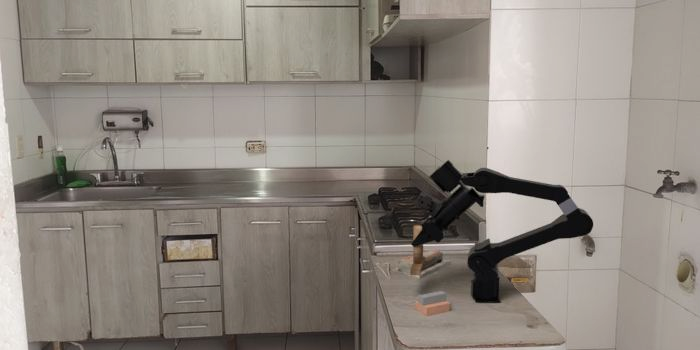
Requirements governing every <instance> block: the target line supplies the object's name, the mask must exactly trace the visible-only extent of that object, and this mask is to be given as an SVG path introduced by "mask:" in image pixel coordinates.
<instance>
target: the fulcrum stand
mask: <svg viewBox="0 0 700 350" xmlns="http://www.w3.org/2000/svg"><path fill="white" fill-rule="evenodd" d="M414 310H415V311H418V312H419V313H421V314H422V315H425V316H426V317H427V316H432V315H437V314H442V313H445V312H450V311H451V303H450V302H449V301H447V292H444V291H442V290H440V291H435V292H429V293H424V294H419V295H418V300H415V301H414Z"/></svg>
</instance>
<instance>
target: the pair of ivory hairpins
mask: <svg viewBox="0 0 700 350" xmlns="http://www.w3.org/2000/svg"><path fill="white" fill-rule="evenodd" d="M384 264H386V265H385V266H387V273H388V276H387V274H386V272H385V271H384V269H382V267H381V265H380V263H379V262H377V263H374V265H375V267H377V268H378V269H379V270H380V271H381V272H382V273H383V275H384V276H385V277H386V278H387V280H391V276H390V270H389V269H390V264H391V263H390V262H385V263H384Z"/></svg>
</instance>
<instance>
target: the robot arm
mask: <svg viewBox="0 0 700 350" xmlns="http://www.w3.org/2000/svg"><path fill="white" fill-rule="evenodd" d="M428 178H429V179H430V180H431V181H432V182H433V183H434V184H435V185H436V186H437V187H438V188H439V189H440V190H441V191H442V193H449V194H450V193H451V192H452V193H451V194H450V195H449V196H448V197H447V198H443V199H442V200H439V199H437V198H436V197H434V196H432V195H430V194H428V193H426V192H424V191H421V192H420V194H419V196H418V197H417V199H416V200H415V203H414V205H415V206H416V207H418V208H422V209H424V210H426V211H427V214H428V215H429V216H427V215H425V216H424V220H422V222H421V224H420V225H421V226H422V230H421V231H420V233H419V234H418V235H417V237H416V238H415V239H414V238H413V239H414V241H413V240H412V242H411V243H410V245H411V246H412V247H415V246H418V245H421V244H423V245H424V244H427V243H431V242H434V241H435V242H436V243H437V244H439V243H440V242H441V241H442V240H444V238H445V235H446V234H445V231H447V230H448V229H449V228H450V226H451V225H452V224H454V223H455V222H456V221H459V219H461V217H462V215H464V214H465V213H466V212H467V211H468V210H469V209H470V208H471V207H472V206H473V205H475V204H476V203H477V205H478V206H479V207H481V208H483V207H484V200H485V194H502V193H505V194H506V193H509V194H515V195H519V196H525V197H530V198H535V199H542V200H547V201H552V202H555V203H556V205H557V207H559V209H560V210H561V212H562V214H561V215H559V216H558V217H557V218H555V219H554V220H553V221H551V222H550V223H548V224H545V225H542V226H540V227H537V228H534V229H532V230H529V231H526V232H524V233H521V234H518V235H516V236H513V237H511V238H508V239H505V240H503V241H500V242H491V240H490V238H487V239H485V240H483V241H481V242H475V243H474V246H473V247H471V248H470V250H469V251H468V255H467V260H466V261H467V266H468V268H469V270H471V271H472V272H474V273H473V274H472V275H473V276H472V279H471V280H470V295H471V297H472V298H473V300H474V302H476V303H501V299H500V279H501V278H500V276H499V265H498V264H500V263H502V261H503V260H506V259H507V258H510V257H513V256H516V255H518V254H520V253H524V252H526V251H528V250H532V249H534V248H538V247H540V246H542V245H545V244H549V243H551V242H553V241H556V240H562V239H563V240H564V239H574V238H578V237H579V238H580V237H585V236H587V235H589V234H590V233H591V232H592V230H593V228H594V220H593V218H592V217H591V216H590V215H589V213H588V212H587V211H586V210H585V209H583V208H580V207H578V206H577V204H576V203H575V201H574V200H573V199H572V197H571V196H570V194H569V191H568V190H567V189H566V187H565V186H563V185H562V184H551V183H547V182H540V181H534V180H529V179H523V178H519V177H513V176H509V175H506V174H504V173H501V172H499V171H497V170H493V169H490V168H489V167H480V168H477V170H475V171H474V172H466V173H465V172H464V173H461V171H460V170H458V169H457V167H455V166H454V163H452V162H451V161H450V159H447V160H446V161H445V162H444V163H443V164H442V165H441V166H438V167H437V168H436V169H435V170H434V171H433V172H432V173H431V174H429V176H428ZM458 186H459V187H458ZM457 187H458V188H457ZM469 187H470V188H469ZM455 189H456V190H455ZM453 190H455V191H453ZM479 193H481V194H479Z"/></svg>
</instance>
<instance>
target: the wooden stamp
mask: <svg viewBox="0 0 700 350" xmlns="http://www.w3.org/2000/svg"><path fill="white" fill-rule="evenodd" d="M421 230H422V226H421V224H415V225H413V240H412V242H413V241H414V239H415V238H416V237H417V235H418V234H419V233H420V231H421ZM412 247H413V246H412ZM423 251H424V244H421V245H418V246H415V247H413V254H412V255H413V264H412V266H411V269H410V275H419V276H420V274H421V272H422V269H423V267H424V264H425V257H424V256H423Z"/></svg>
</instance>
